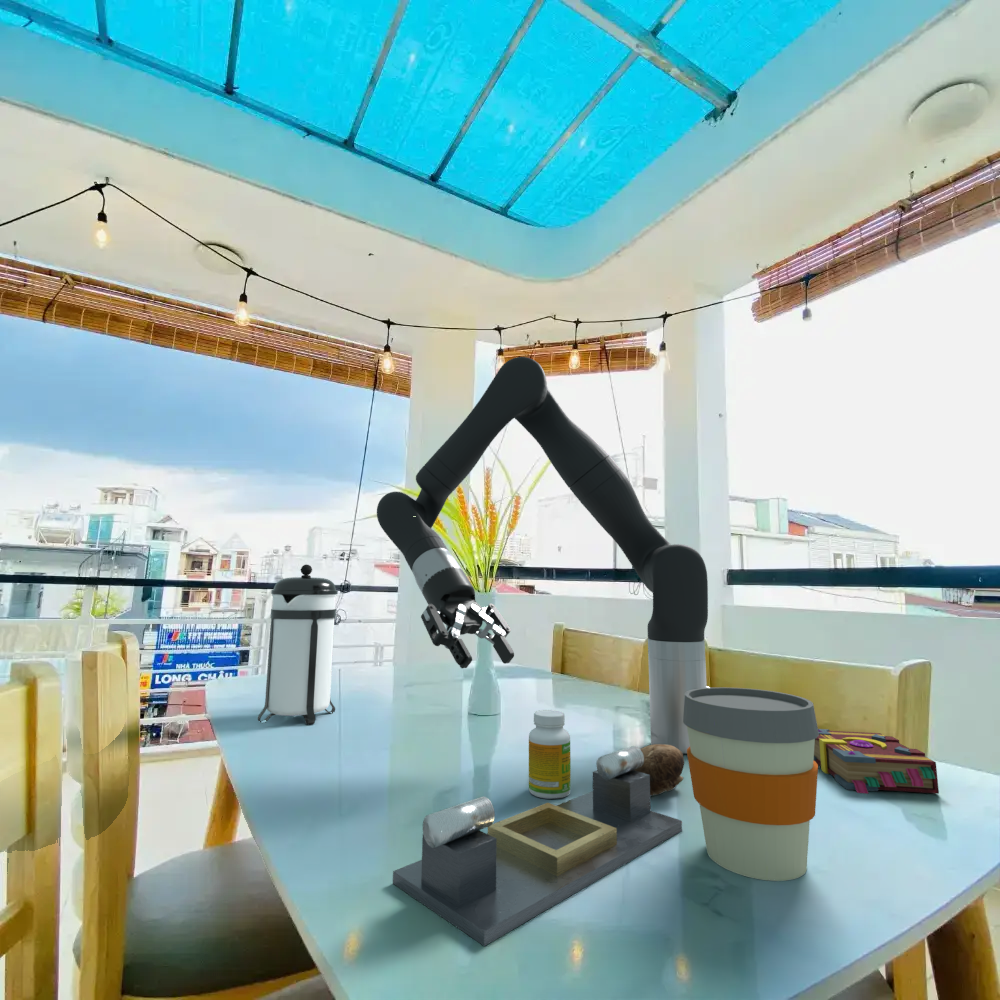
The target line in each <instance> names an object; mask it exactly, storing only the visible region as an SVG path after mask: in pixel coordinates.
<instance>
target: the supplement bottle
mask: <svg viewBox="0 0 1000 1000" xmlns="http://www.w3.org/2000/svg"><path fill="white" fill-rule="evenodd" d="M565 717H566V716H565V713H564V712H562V711H560V710H556V709H555V710H553V709H541V710H536V711H534V712H533V724H534V725H535V727H533V728H532V729H531V730H530V731H529V734H528V790H529V793H530V794H531V795H533V796H535V797H536V798H541V799H545V800H546V799H547V800H551V799H552V800H556V799H562V798H565V797H568V796H569V795H570V794H571V788H572V786H571V784H572V783H571V781H572V779H571V777H572V776H571V775H572V774H571V770H572V768H571V765H572V762H571V758H572V757H571V735H570V733H569V731H567V730H566V729H565V728H564V726H565Z"/></svg>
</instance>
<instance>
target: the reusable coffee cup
mask: <svg viewBox="0 0 1000 1000" xmlns="http://www.w3.org/2000/svg"><path fill="white" fill-rule="evenodd" d="M816 716H817V715H816V712H815V706H814V703H813V701H811V700H810V699H808V698H806V697H802V696H798V695H794V694H789V693H785V692H780V691H773V690H766V689H758V688H746V687H744V688H743V687H723V686H721V687H710V688H700V689H693V690H690V691H687V692H686V693H685V700H684V715H683V723H684V724H685V725H686V726H687V730H688V736H689V743H690V747H689V748H688V749H687V753H686V754H687V762H688V766H689V767H688V768H689V774H690V779H691V780H690V781H691V787H692V793H693V797H694V799H695V802H697V803H698V804H699V809H700V817H701V822H702V829H703V835H704V840H705V841H704V842H705V847H706V853H707V855H708V856H709V858H710V859H711V860H712V861H713V862H714V863H716V864H717V865H719V866H720V867H722V868H723V869H725V870H728V871H730V872H732V873H734V874H737V875H739V876H740V875H741V876H744V877H748V878H752V879H756V880H762V881H772V882H782V881H783V882H784V881H790V880H796V879H798V878H801V877H802V876H803V875H805V874H806V872H807V867H808V856H809V855H808V854H809V853H808V852H809V840H810V839H809V837H810V836H809V835H810V823H811V820H813V819H814V818H815V816H816V807H817V805H816V804H817V789H818V788H817V787H818V775H819V774H818V772H819V771H818V770H819V764H817V763H816V762H815V761H814V744H815V739H816V738H817V737H818V736H819V732H818V729H819V728H818V722H817V717H816Z"/></svg>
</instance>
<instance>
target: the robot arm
mask: <svg viewBox="0 0 1000 1000" xmlns="http://www.w3.org/2000/svg"><path fill="white" fill-rule="evenodd" d="M514 419H515V420H516V421H517V422H518V423H519V424H520V425H521V426H522V427H523V428H524V430H526V431H527V432H528V433H529V435H530V436H532V438H533V439H534V440H535V441H536V442H537V444H538V445H539V446H540V448H541V449H542V450H543V452H544V453H545V455H546V457H547V458H548V460H549V462H550V463H551V464H552V466H553V468H554V469H555V471H556V472H557V474H558V475H559V476H560V478H562V480H563V482H564V483H565V484H566V486H567V487H568V488H569V490H570V491H571V492H572V493H573V495H574V496H575V497H576V499H577V500H578V501H579V502H580V503H581V505H583V507H584V508H585V509H586V510H587V511H588V513H589V514H590V515H591V516H592V517H593V518H594V519H595V521H596V522H597V523H598V525H600V526H601V528H603V530H604V531H605V532H606V533H607V534H608V535H609V536H610V537H611V538H612V540H613V541H614V542H615V543H616V544H617V545H618V546H619V548H620V550H621V551H622V552H623V554H624V555H625V558H627V560H628V562H629V563H630V565H631V566H632V568H633V570H635V572H636V574H637V575H638V577H639V578H640V580H641V581H642V583H643V585H644V586H645V587H646V588H647V589H648V591H649V592H651V593H652V611H651V612H652V614H651V617H650V619H649V621H648V622H647V650H648V651H647V654H648V655H647V656H648V658H647V659H648V660H647V661H648V683H649V684H648V685H649V687H648V689H649V691H648V692H649V694H648V695H649V720H650V721H649V722H650V723H649V724H650V725H649V727H650V745H654V744H665V745H671V746H674V747H676V748H677V749H679V750H680V751H681V752H682V753H683V754H687V749H688V748H689V747H690V743H689V736H688V730H687V726H686V725H685V724H684V723H683V715H684V700H685V693H686V692H687V691H690V690H693V689H700V688H711V687H710V686H708V685H707V667H706V666H707V665H706V663H707V662H706V645H705V630H706V627H707V623H708V617H709V595H708V594H709V592H708V591H709V585H708V584H709V583H708V581H709V580H708V573H707V572H708V571H707V567H706V563H705V560H704V558H703V556H702V555H701V554H700V552H698V551H697V550H696V549H695V548H693V547H691V546H689V545H686V544H681V543H680V544H679V543H677V544H675V543H674V544H672V543H670V542H669V541H668V540H667V539H666V538H665V537H664V536H663V535H662V534H661V533H660V531H659V530H658V529H657V528H656V526H654V525H653V523H652V522H651V521H650V520H649V518H648V517H647V515H646V514H645V512H644V508H642V505H641V503H640V501H639V498H638V495H637V494H636V492H635V490H634V488H633V486H632V484H631V482H630V480H629V478H628V477H627V475H626V474H625V471H623V470H622V469H621V467H620V466H619V465H618V464H617V462H616V461H615V460H614V458H612V456H611V455H610V453H608V452H607V450H606V449H604V447H603V446H602V445H601V444H600V443H598V442H597V441H596V440H595V439H594V438H593V437H592V436H591V435H589V434H588V433H587V432H586V431H584V430H583V429H582V428H581V427H579V426H578V425H577V424H576V423H575V422H574V421H572V419H571V418H570V417H569V416H568V415H567V414H566V412H565V411H564V410H563V408H562V407H561V405H560V404H559V403H558V401H557V400H556V399H555V397H554V396H553V394H552V392H551V391H550V389H549V387H548V382H547V376H546V374H545V371H544V369H543V367H542V365H541V364H540V363H539V362H537V361H536V360H535V359H533V358H530V357H527V356H517V357H513V358H511V359H509V360H507V361H505V362H504V363H503V364H502V366H501V367H500V368H499V370H498V371H497V372H496V374H495V375H494V377H493V379H492V380H491V382H490V384H489V385H488V387H487V388H486V390H485V392H484V393H483V394H482V396H481V397H480V399H479V400H478V402H477V403H476V404H475V406H474V407H473V409H472V410H471V411H470V413H469V414H468V415H467V417H465V418H464V420H463V421H462V422H461V424H460V425H459V426H458V427H457V428H456V430H455V431H454V432H453V433H452V434H451V435H450V436H449V437H448V438H447V439H446V441H445V442H443V444H442V445H441V446H440V447H439V448H438V449H437V450H436V452H434V454H433V455H432V456H431V457H430V458H429V459H428V461H426V463H424V465H422V467H421V468H420V469H419V470H418V472H417V473H416V475H415V482H416V483H417V485H418V487H419V488H420V491H419V494H418V496H417V498H416V499H414V498H413V497H411V496H409V495H408V494H407V493H404V492H401V491H391V492H388V493H386V494H385V495H383V496H382V497H381V499H380V500H379V502H378V504H377V506H376V518H377V522H378V524H379V526H380V528H381V530H383V532H384V533H385V535H386V536H387V537H388V539H390V540H391V542H392V543H393V544H394V546H395V547H396V548H397V549H398V550H399V551H400V552H401V554H402V555H403V558H404V559H405V561H406V563H407V565H408V567H409V568H410V571H411V572H412V574H413V577H414V579H415V583H416V584H417V587H418V589H419V590H420V592H421V594H422V595H423V597H424V600H425V601H426V604H427V606H426V608H425V609H424V611H423V612H422V614H421V615H420V618H421V620H422V623H423V625H424V627H425V629H426V631H427V634H428V635H429V638H430V640H431V642H432V645H434V646H436V647H439V646H440V645H442V646H444V648H446V649H448V651H450V654H451V655H452V656H451V657H453V659H454V661H455V663H456V664H457V665H458V666H459V667H460V669H467V668H468V667H469V665H470V664H471V663H472V661H473V657H472V654H471V653H470V651H469V649H468V647H467V646H466V644H465V642H464V640H463V638H459V637H460V636H462V635H463V636H464V635H466V634H469V635H474V636H476V637H478V638H479V639H485V640H487V642H489V643H491V644H492V647H493V649H494V651H495V653H496V654H497V655H498V657H499V659H500V660H501V661H502V663H503V664H509V663H510V662H511V661H512V660H513V658H514V657H515V653H514V650H513V648H512V646H511V645H510V643H509V642H508V639H506V637H507V636H508V635H509V634H510V632H511V631H512V628H511V627H510V625H509V624H508V622H507V621H506V619H505V618H504V617H503V615H502V614H501V613H500V611H499V609H498V608H497V607H496V605H495V604H493V603H491V602H490V603H489V604H488V605H487V606H486V607H485V606H484V607H482V606H481V605H480V603H478V602H477V601H476V591H475V588H474V586H473V585H472V583H471V582H470V580H469V578H468V576H466V573H465V572H464V570H463V569H462V567H461V566H460V563H459V562H458V561H457V559H456V558H455V556H453V555H452V553H451V551H449V549H448V548H447V546H446V544H445V543H444V541H443V539H442V538H441V537H440V535H439V534H438V533H437V531H435V530H434V529H433V528H432V527H433V526H434V525H435V523H436V520H437V519H438V517H439V515H440V513H441V511H442V509H443V508H444V506H445V503H446V502H447V499H448V498H449V496H450V495H451V494H452V493H453V492H455V490H456V489H457V488H458V487H459V486H460V485H461V483H462V482H463V481H464V480H465V479H466V478H467V477H468V475H469V474H470V473H471V472H472V471H473V469H474V468H475V467H476V465H477V464H478V462H479V460H481V458H482V456H483V455H484V453H485V452H486V450H488V447H489V446H490V445H491V444H492V442H493V441H494V439H495V438H496V437H497V436H498V434H499V433H500V432H502V430H503V429H504V428H505V427H506V426H507V425H508V424H510V422H511V421H512V420H514ZM413 516H416V517H413ZM483 622H484V623H485V627H484V628H483V629H481V627H482V625H483ZM499 626H500V627H501V628H500V627H499ZM490 631H492V633H493V634H494V635H493V634H492V633H490Z"/></svg>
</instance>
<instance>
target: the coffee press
mask: <svg viewBox="0 0 1000 1000" xmlns="http://www.w3.org/2000/svg"><path fill="white" fill-rule="evenodd" d="M299 571H300V572H301V574H302V575H300V576H301V577H298V576H297V577H296V576H295V577H285V578H282V579H280V580H279V581H277V582H276V583H275V585H274V587H273V589H271V591H270V594H271V596H272V606H271V609H270V627H269V641H268V655H267V657H268V659H267V671H266V686H265V698H264V699H265V701H264V707H263V709H262V710H261V711H260V713H259V714H258V716H257V721H258V722H259V721H260V722H259V723H261V721H262V720H261V718H262V717H263V716H264V713H266V710H267V711H268V712H269V713H270V714H268V715H267V716H266V717H265V718H264V719H263V720H266V721H267V722H268V721H269V719H271V718H272V717H273V716H286V717H287V716H289V717H290V716H291V717H293V716H295V717H296V716H301V717H303V719H304V722H305V725H306V724H307V725H308V724H309V725H313V724H315V722H316V717H315V714H317V713H320V712H322V711H325V712H326V713H328V714H330V712H332V714H334V713H335V711H336V707H335V705H334V703H333V702H332V700H331V697H332V696H331V695H332V694H331V690H332V689H331V688H332V672H333V671H332V669H333V652H334V634H335V618H336V617H337V609H336V599H337V596H338V594H339V590H336V589H337V588H336V584H335V583H334V582H333V581H332V580H331V579H328V578H325V577H324V578H323V577H311V574H312V573H313V568H312V566H311V565H309V564H304V565H302V566H301V567H300V570H299ZM329 705H330V706H331V710H330V711H329V710H328V709H327V708H329ZM333 712H334V713H333ZM307 725H306V726H307Z"/></svg>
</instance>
